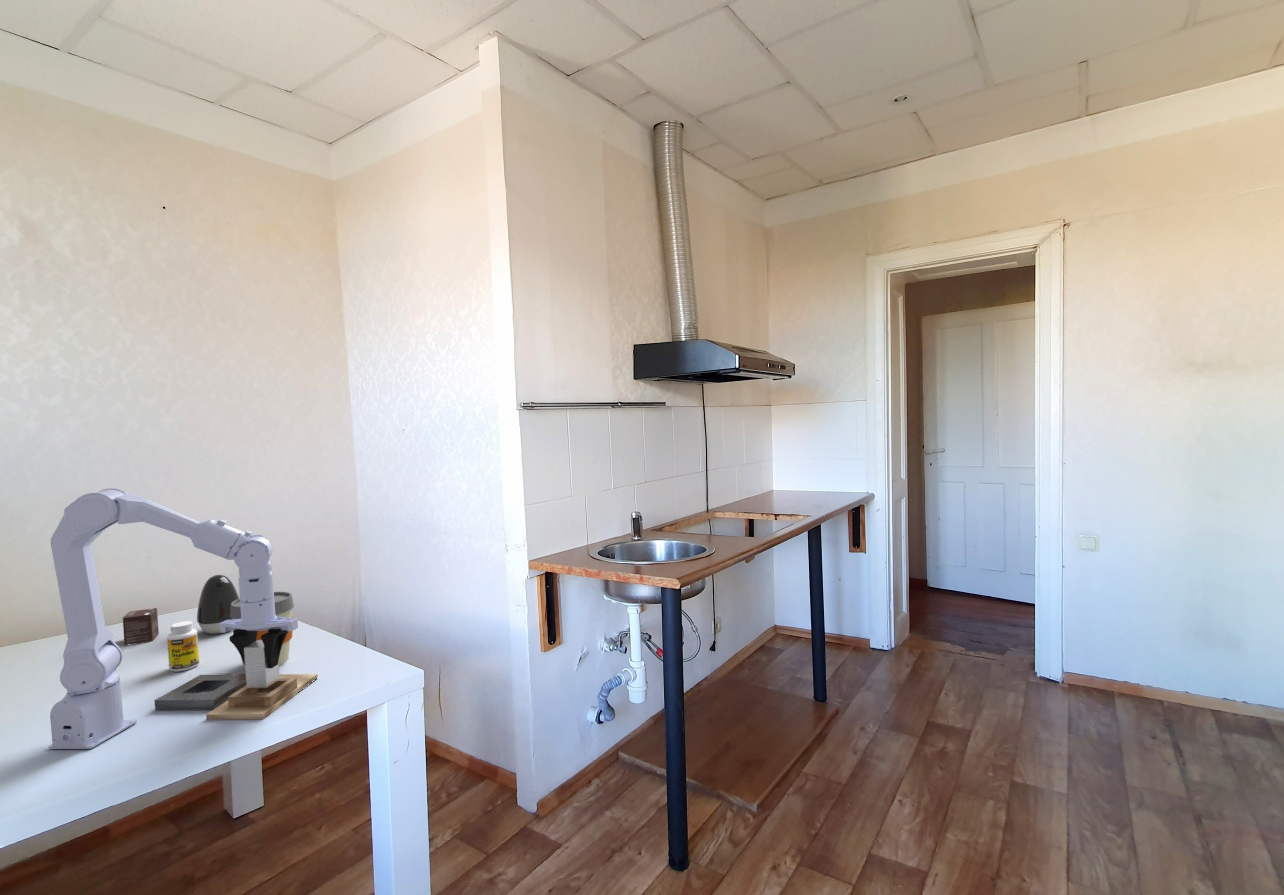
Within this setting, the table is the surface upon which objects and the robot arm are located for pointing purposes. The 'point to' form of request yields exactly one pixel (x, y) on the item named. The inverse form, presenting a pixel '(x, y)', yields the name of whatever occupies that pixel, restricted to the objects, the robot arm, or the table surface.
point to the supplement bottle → (182, 647)
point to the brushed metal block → (259, 666)
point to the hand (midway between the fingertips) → (262, 666)
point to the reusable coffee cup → (281, 610)
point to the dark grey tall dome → (215, 603)
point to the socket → (194, 700)
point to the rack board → (261, 698)
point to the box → (140, 626)
